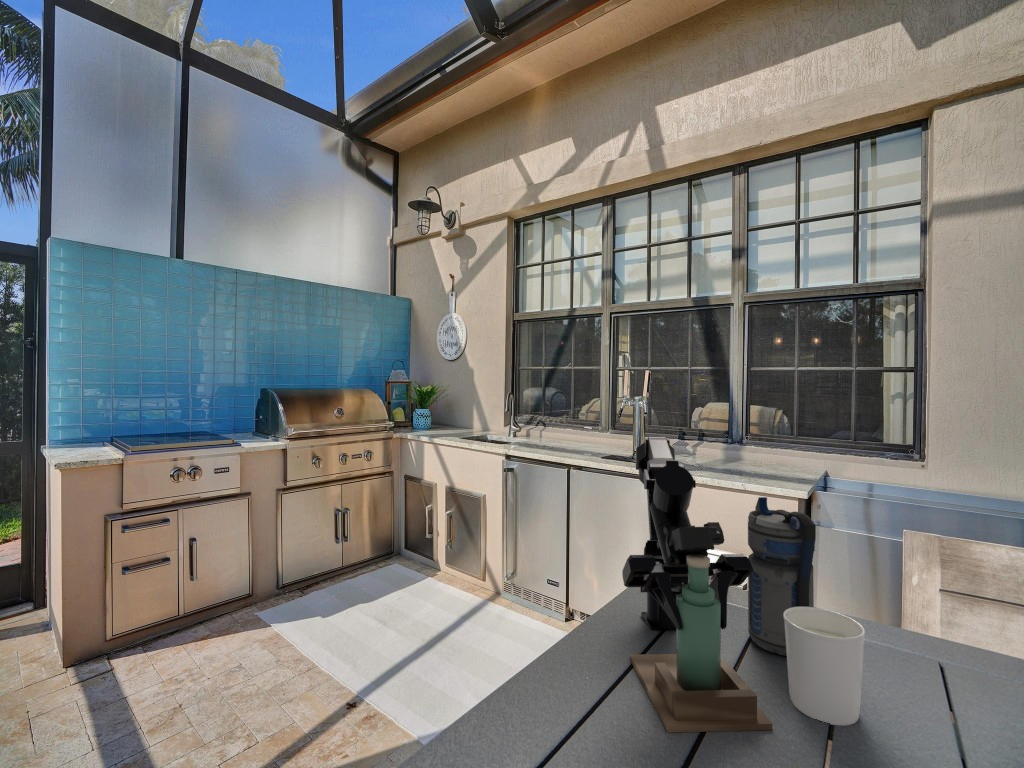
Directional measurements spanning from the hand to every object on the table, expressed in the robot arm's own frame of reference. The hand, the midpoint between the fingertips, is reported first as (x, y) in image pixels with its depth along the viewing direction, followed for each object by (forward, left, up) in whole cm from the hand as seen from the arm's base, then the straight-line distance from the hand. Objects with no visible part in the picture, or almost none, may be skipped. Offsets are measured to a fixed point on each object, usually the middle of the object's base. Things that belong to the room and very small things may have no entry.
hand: (702, 628), depth 70 cm
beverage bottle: (-15, +21, -11) cm, 28 cm away
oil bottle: (-1, 0, -9) cm, 9 cm away
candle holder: (+1, +17, -11) cm, 20 cm away
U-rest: (-3, 0, -11) cm, 11 cm away
